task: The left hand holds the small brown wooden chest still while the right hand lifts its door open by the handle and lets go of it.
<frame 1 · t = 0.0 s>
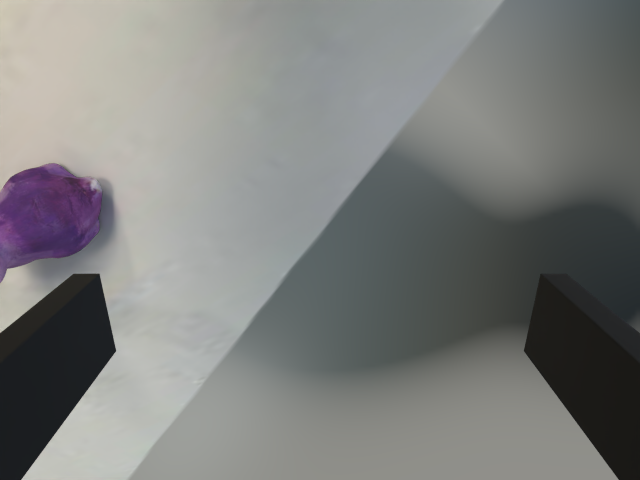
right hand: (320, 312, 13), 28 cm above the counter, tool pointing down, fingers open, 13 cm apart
figurine: (61, 212, 41), on the counter
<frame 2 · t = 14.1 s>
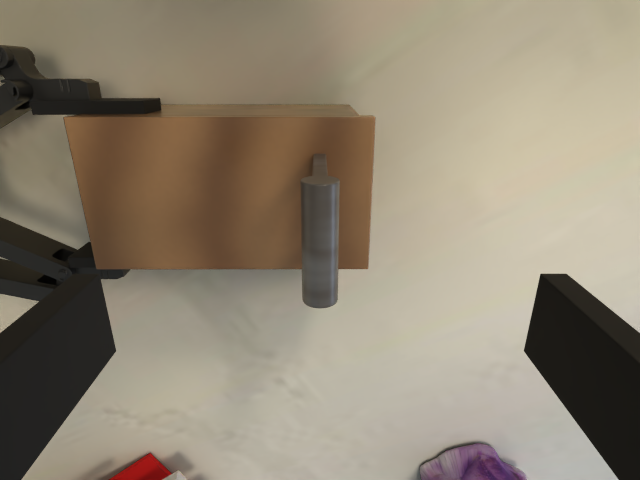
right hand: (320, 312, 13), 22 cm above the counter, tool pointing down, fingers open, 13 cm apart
chest: (247, 164, 34), on the counter, touching left hand
door: (212, 216, 21), point 13 cm above the counter, hinge at 0.0°
figurine: (459, 471, 46), on the counter
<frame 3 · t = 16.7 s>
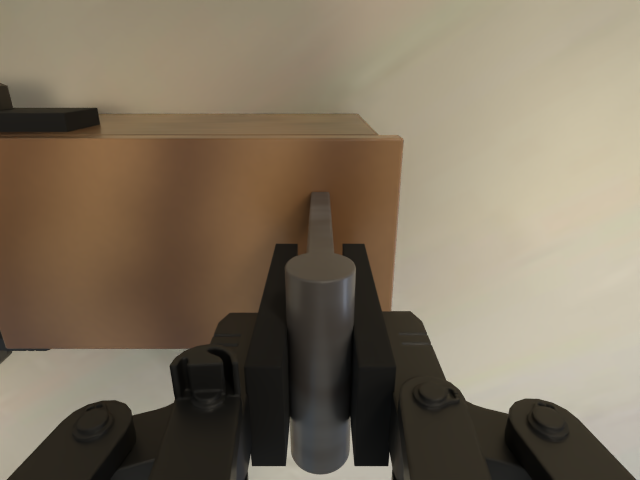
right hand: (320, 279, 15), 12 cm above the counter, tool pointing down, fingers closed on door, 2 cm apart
chest: (226, 189, 26), on the counter, touching left hand
door: (153, 296, 14), point 13 cm above the counter, hinge at 0.3°, touching right hand
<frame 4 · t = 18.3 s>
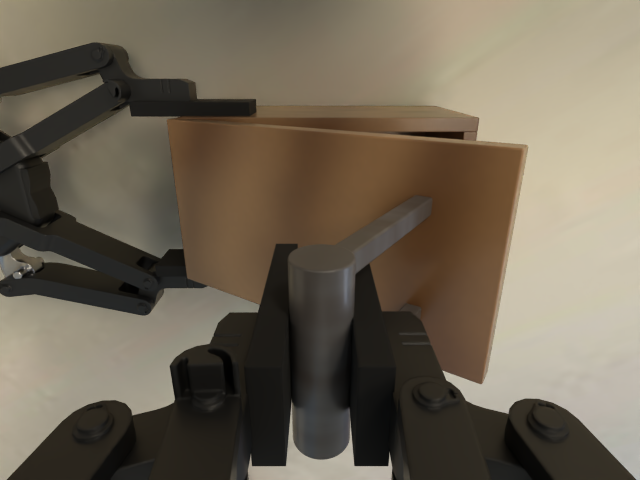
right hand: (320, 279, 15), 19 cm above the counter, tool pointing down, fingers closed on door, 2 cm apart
left hand: (257, 190, 26), fingers closed on chest, 9 cm apart
chest: (325, 167, 32), on the counter, touching left hand
door: (252, 259, 16), point 17 cm above the counter, hinge at 32.8°, touching right hand
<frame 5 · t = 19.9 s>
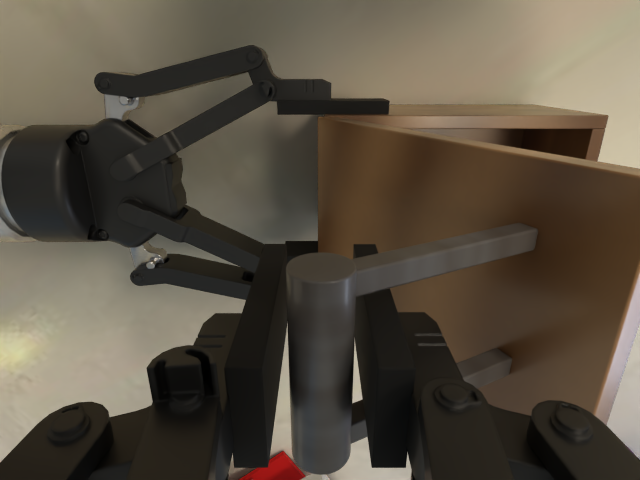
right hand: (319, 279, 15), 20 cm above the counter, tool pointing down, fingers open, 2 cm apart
left hand: (381, 184, 27), fingers closed on chest, 9 cm apart
chest: (423, 163, 34), on the counter, touching left hand
door: (337, 259, 16), point 19 cm above the counter, hinge at 62.8°
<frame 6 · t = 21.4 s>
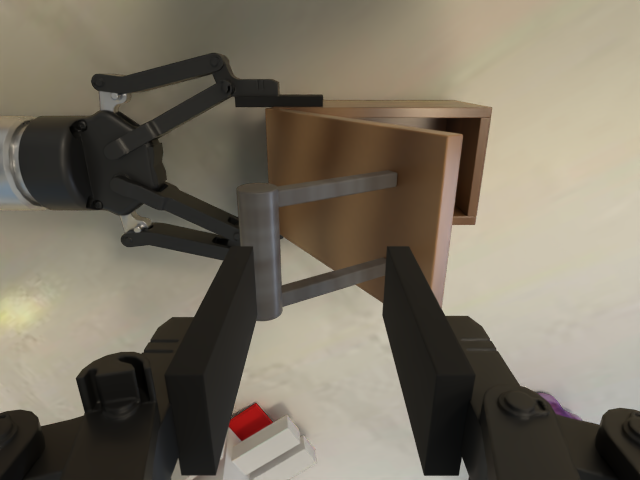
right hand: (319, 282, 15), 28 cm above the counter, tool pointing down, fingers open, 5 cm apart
left hand: (322, 163, 34), fingers closed on chest, 9 cm apart
chest: (366, 149, 40), on the counter, touching left hand
door: (278, 206, 23), point 19 cm above the counter, hinge at 58.2°
toy: (205, 457, 55), on the counter
when the left hand's fingers open (7 cm above the counter, at t = 23.8 s): chest stays where it is, on the counter.
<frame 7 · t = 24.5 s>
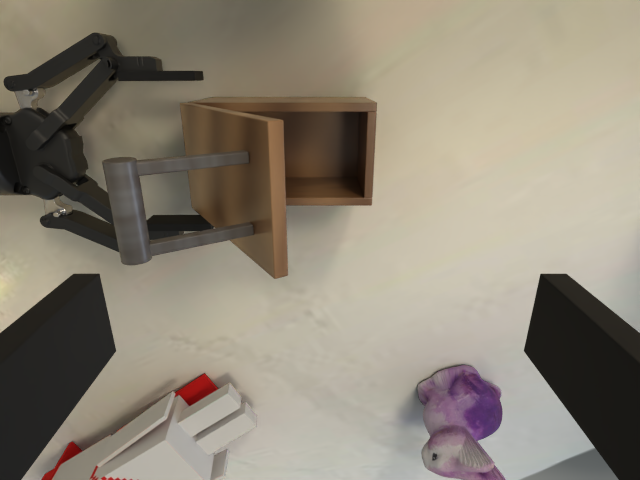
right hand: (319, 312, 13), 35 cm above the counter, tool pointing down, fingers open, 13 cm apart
left hand: (207, 153, 39), fingers open, 13 cm apart
chest: (290, 141, 46), on the counter
door: (170, 182, 28), point 19 cm above the counter, hinge at 57.9°
figurine: (449, 389, 58), on the counter
toy: (161, 424, 60), on the counter
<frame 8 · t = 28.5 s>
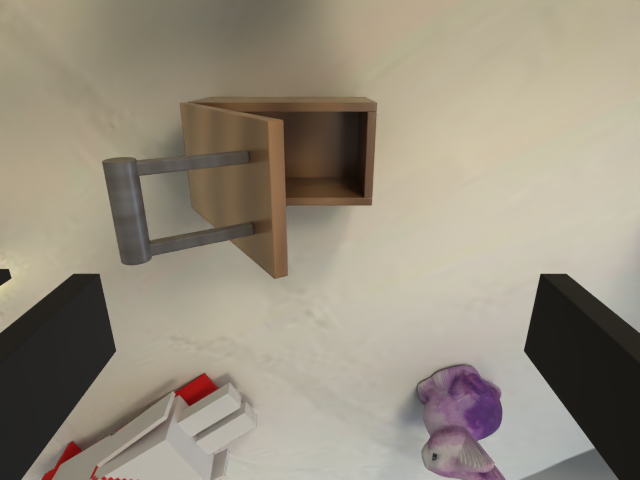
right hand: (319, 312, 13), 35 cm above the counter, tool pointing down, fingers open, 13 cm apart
chest: (290, 141, 46), on the counter
door: (170, 182, 28), point 19 cm above the counter, hinge at 57.9°
figurine: (449, 389, 58), on the counter
toy: (161, 424, 60), on the counter
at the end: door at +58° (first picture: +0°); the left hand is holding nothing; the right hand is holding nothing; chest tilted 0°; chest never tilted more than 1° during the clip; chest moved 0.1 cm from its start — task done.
